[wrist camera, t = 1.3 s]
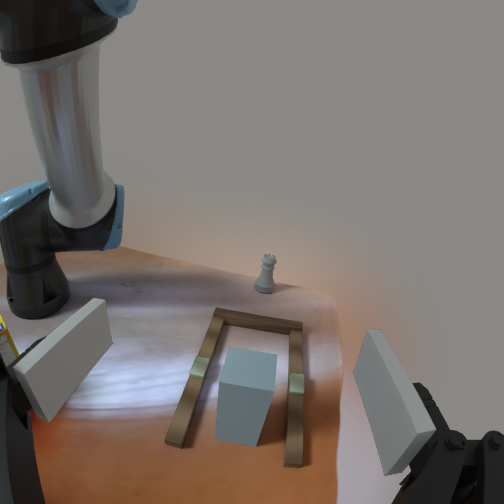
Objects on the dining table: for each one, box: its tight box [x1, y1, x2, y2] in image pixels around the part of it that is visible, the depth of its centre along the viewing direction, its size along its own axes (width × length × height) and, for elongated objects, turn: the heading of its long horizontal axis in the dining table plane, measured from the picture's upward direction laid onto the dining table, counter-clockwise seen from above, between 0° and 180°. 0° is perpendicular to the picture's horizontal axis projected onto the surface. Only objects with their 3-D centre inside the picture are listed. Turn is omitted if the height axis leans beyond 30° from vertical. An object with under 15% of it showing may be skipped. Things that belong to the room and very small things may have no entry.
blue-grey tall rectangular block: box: [215, 347, 277, 447], centre depth 28 cm, size 5×5×12 cm
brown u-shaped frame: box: [165, 308, 304, 468], centre depth 38 cm, size 28×16×2 cm, turn 173°
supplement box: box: [0, 315, 20, 367], centre depth 24 cm, size 6×6×11 cm
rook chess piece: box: [255, 254, 276, 294], centre depth 61 cm, size 4×4×8 cm
